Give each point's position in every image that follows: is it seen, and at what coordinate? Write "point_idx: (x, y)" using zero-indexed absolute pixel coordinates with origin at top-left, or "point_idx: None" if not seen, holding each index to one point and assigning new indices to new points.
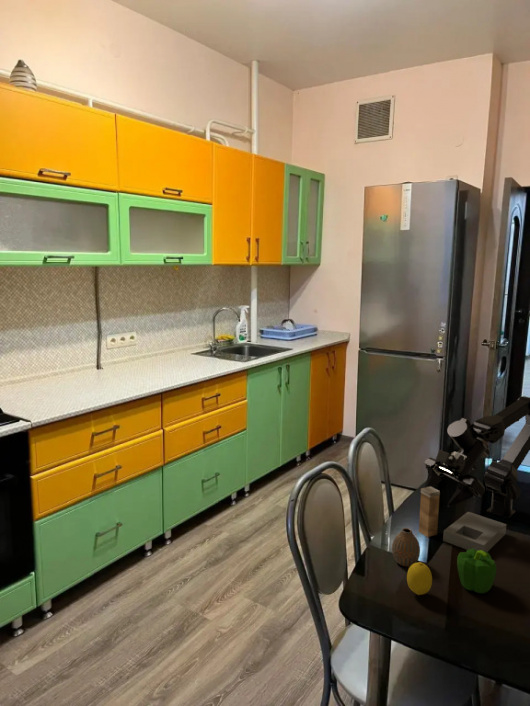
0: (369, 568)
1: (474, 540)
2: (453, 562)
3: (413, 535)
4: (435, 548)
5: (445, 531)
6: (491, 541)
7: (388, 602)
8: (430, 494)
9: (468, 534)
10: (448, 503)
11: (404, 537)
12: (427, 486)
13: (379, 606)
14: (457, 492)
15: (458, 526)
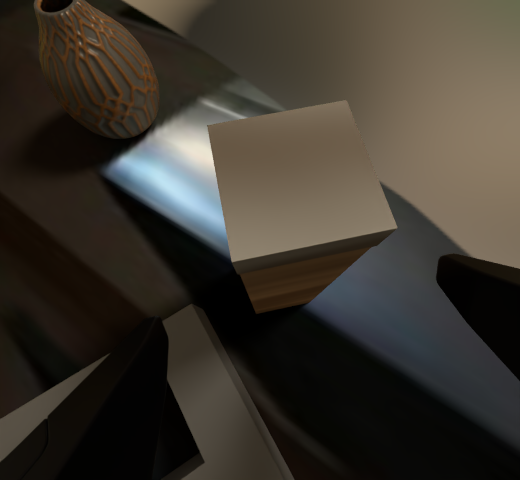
0: (140, 33)
1: (49, 406)
2: (60, 257)
3: (46, 37)
4: (163, 247)
5: (183, 309)
6: None
7: (7, 24)
8: (210, 139)
9: (189, 463)
10: (145, 324)
11: (55, 8)
12: (497, 278)
13: (7, 6)
14: (16, 474)
15: (205, 417)
